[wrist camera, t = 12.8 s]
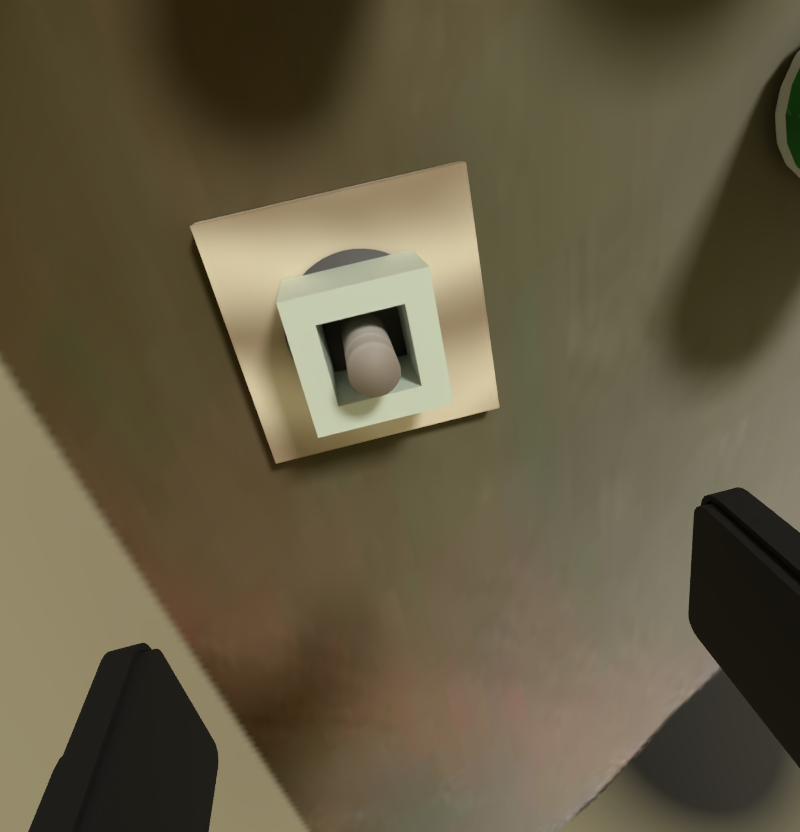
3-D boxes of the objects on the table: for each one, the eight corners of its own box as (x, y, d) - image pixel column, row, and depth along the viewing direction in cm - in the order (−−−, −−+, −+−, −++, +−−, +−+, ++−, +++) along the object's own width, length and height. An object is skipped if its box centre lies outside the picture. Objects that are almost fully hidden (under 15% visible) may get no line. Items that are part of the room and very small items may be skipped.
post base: (195, 222, 24) (153, 249, 18) (459, 161, 25) (510, 165, 18) (277, 452, 30) (267, 535, 23) (492, 398, 30) (541, 466, 24)
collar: (281, 280, 25) (275, 303, 21) (412, 249, 25) (429, 266, 21) (317, 400, 27) (318, 437, 24) (435, 371, 28) (453, 404, 24)
